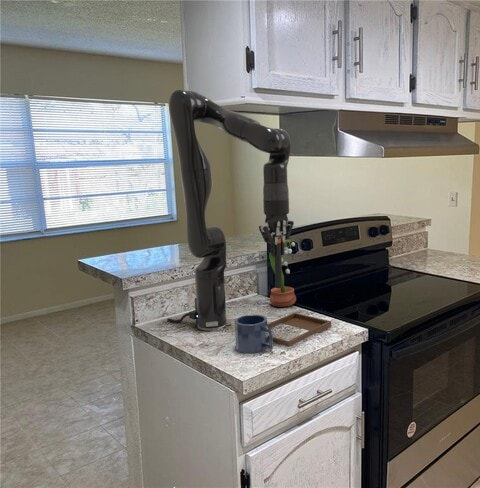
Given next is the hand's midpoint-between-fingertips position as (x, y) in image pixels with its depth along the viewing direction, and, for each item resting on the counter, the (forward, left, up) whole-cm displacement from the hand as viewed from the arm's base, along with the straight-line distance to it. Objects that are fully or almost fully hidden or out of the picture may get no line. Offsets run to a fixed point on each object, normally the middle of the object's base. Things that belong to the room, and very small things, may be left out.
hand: (277, 255), depth 148 cm
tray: (0, +5, -26) cm, 27 cm away
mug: (+1, -12, -26) cm, 29 cm away
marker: (0, 0, -10) cm, 10 cm away
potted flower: (-21, +26, -26) cm, 43 cm away
